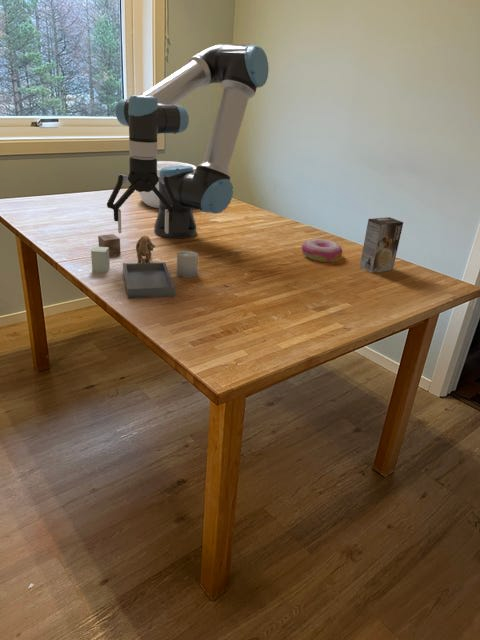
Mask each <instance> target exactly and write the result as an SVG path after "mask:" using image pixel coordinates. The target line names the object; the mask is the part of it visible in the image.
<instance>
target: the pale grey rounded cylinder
mask: <svg viewBox="0 0 480 640" xmlns="http://www.w3.org/2000/svg"><path fill="white" fill-rule="evenodd" d="M198 270H199V253H197V252H195V251H191V250H182V251H178V252H177V255H176V276H178V277H180V278H184V279H192V278H196V277H198V275H199V274H198Z"/></svg>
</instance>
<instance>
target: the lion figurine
mask: <svg viewBox="0 0 480 640" xmlns="http://www.w3.org/2000/svg"><path fill="white" fill-rule="evenodd" d="M155 247H156V245H154V243H152V241H151V238H150V237H149V236H148V235H143V236H142V235H141V236H140V238H139V239H138V241H137V242H136V246H135V250H136V257H137V262H136V263H142V258H141V257H145V260H144V261H145V262H144V263H151V262H150V260H149V259H150V256H151V255H152V252H153V251H154V249H155Z"/></svg>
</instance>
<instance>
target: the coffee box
mask: <svg viewBox="0 0 480 640" xmlns="http://www.w3.org/2000/svg"><path fill="white" fill-rule="evenodd" d="M403 226H404V221H401V220H398V219H396V218H393V217H388V216H387V217H376V218H368V220H367V225H366V231H365V236H364V242H363V247H362V251H361V257H360V261H359V267H360V268H361V269H363V270H366V271H367V272H368V273H371V274H373V273H374V274H375V273H381V272H388V271H389V272H390V271H393V270H394V266H395V261H396V256H397V253H398V248H399V243H400V239H401V234H402V231H403Z"/></svg>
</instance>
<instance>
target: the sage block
mask: <svg viewBox="0 0 480 640" xmlns="http://www.w3.org/2000/svg"><path fill="white" fill-rule="evenodd" d="M90 255H91V270H92V272H101V273H103V272H104V273H107V272H108V271H109V269H110V266H111V265H110V255H109V247H99V246H95V245H94V247H93V248H92V249H91V251H90Z"/></svg>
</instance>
